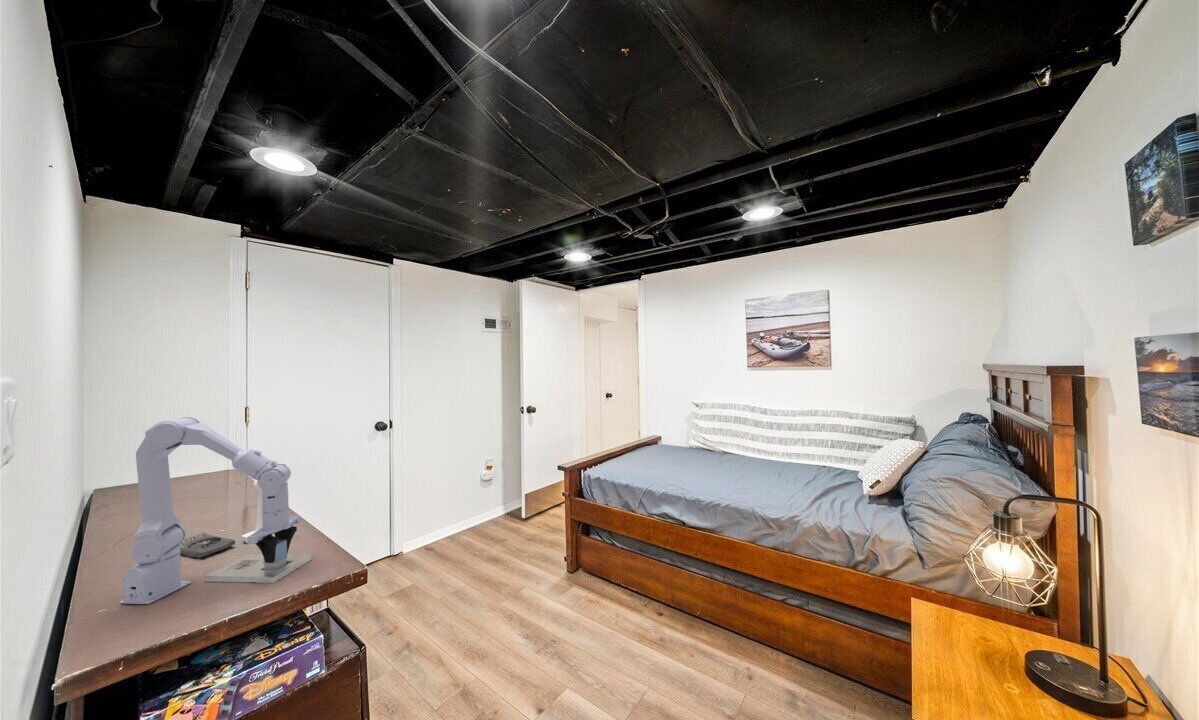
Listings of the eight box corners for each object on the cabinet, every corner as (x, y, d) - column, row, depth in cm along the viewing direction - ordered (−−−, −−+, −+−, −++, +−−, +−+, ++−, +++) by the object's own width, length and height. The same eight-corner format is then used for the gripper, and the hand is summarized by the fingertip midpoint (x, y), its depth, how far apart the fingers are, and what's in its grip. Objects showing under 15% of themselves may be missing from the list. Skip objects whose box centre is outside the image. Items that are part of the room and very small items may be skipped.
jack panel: (273, 583, 104) (273, 577, 104) (204, 581, 106) (204, 575, 106) (310, 560, 116) (310, 555, 116) (248, 559, 118) (248, 554, 118)
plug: (275, 571, 109) (275, 545, 109) (263, 570, 109) (263, 545, 109) (287, 564, 112) (286, 539, 112) (275, 564, 113) (275, 539, 113)
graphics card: (156, 547, 121) (205, 530, 132) (156, 560, 121) (206, 541, 132) (190, 555, 115) (239, 536, 127) (191, 568, 116) (239, 548, 127)
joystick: (277, 529, 140) (276, 472, 140) (290, 531, 137) (289, 474, 138) (239, 542, 130) (237, 481, 130) (252, 545, 127) (251, 483, 127)
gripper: (264, 519, 103) (265, 572, 103) (310, 500, 118) (311, 546, 117) (239, 519, 104) (240, 571, 104) (288, 500, 118) (288, 546, 118)
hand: (276, 558), depth 111 cm, fingers closed on plug, 3 cm apart
